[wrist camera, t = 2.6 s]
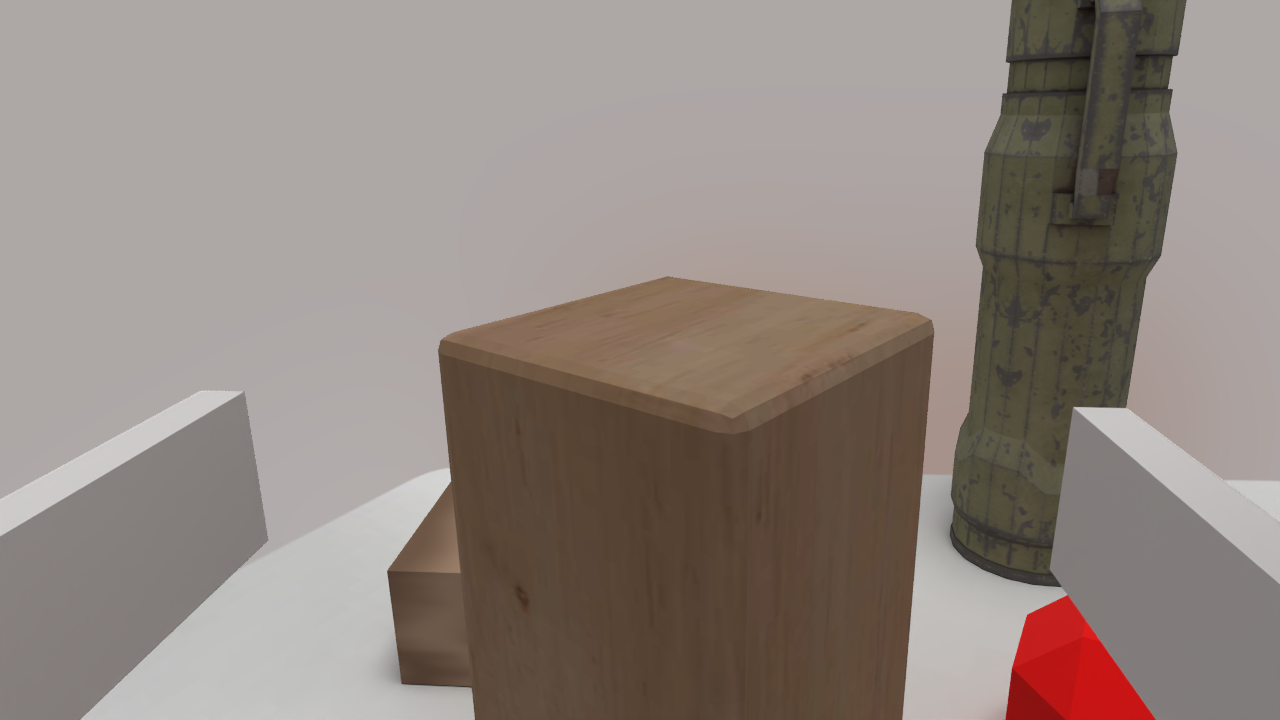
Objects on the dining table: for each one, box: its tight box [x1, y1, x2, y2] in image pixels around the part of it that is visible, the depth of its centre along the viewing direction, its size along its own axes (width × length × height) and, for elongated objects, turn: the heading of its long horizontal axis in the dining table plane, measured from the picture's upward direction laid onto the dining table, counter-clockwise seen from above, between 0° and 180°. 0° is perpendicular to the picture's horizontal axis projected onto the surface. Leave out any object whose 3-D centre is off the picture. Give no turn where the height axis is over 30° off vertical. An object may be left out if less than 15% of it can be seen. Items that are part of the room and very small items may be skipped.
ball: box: [1006, 595, 1156, 720], centre depth 31 cm, size 8×8×8 cm
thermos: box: [950, 0, 1186, 586], centre depth 44 cm, size 9×12×35 cm
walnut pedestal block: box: [387, 482, 472, 687], centre depth 44 cm, size 13×13×6 cm
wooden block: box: [438, 277, 934, 720], centre depth 26 cm, size 10×10×20 cm
